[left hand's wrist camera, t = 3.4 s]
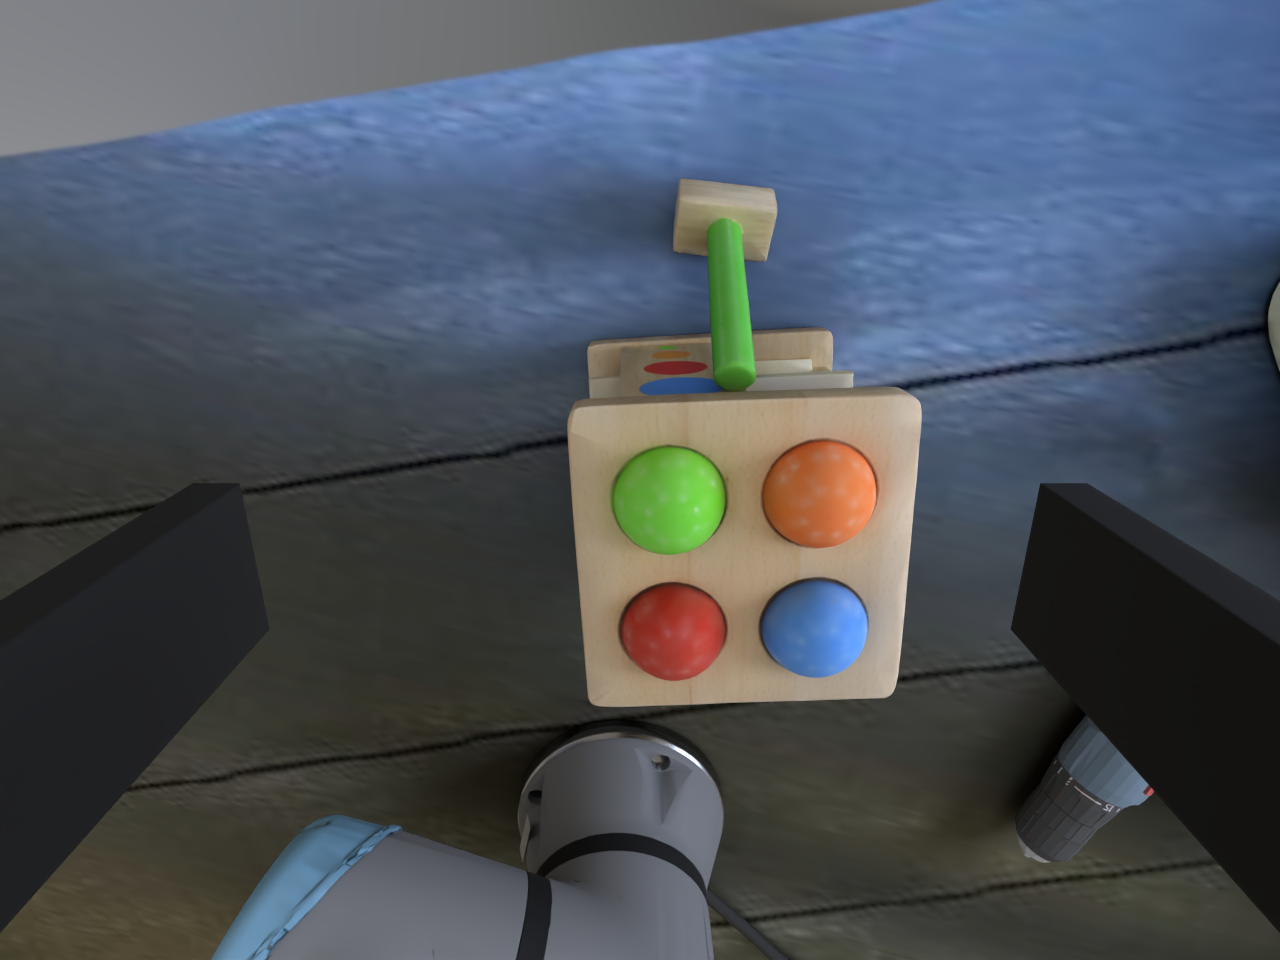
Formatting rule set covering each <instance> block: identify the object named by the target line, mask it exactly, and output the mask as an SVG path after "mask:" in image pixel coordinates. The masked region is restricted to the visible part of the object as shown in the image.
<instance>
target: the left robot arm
mask: <svg viewBox="0 0 1280 960" xmlns="http://www.w3.org/2000/svg"><path fill="white" fill-rule="evenodd" d="M268 630H269V626H268V621H267V616H266V611H265V606H264V601H263V596H262V591H261V586H260V581H259V576H258V571H257V567H256V562H255V557H254V552H253V547H252V542H251V537H250V532H249V527H248V522H247V517H246V512H245V508H244V503H243V498H242V493H241V488H240V483H193V484H191V485H189V486H188V487H186V488H185V489H183V490H181V491H180V492H178V493H176V494H175V495H173V496H171V497H170V498H168V499H166V500H165V501H163V502H162V503H160V504H158V505H157V506H155V507H153V508H152V509H150V510H148V511H147V512H145V513H143V514H142V515H140V516H139V517H137V518H135V519H134V520H132V521H130V522H129V523H127V524H125V525H124V526H122V527H120V528H119V529H117V530H116V531H114V532H112V533H111V534H109V535H107V536H106V537H104V538H102V539H101V540H99V541H97V542H96V543H94V544H93V545H91V546H89V547H88V548H86V549H84V550H83V551H81V552H79V553H78V554H76V555H74V556H73V557H71V558H70V559H68V560H66V561H65V562H63V563H61V564H60V565H58V566H56V567H55V568H53V569H51V570H50V571H48V572H47V573H45V574H43V575H42V576H40V577H38V578H37V579H35V580H33V581H32V582H30V583H29V584H27V585H25V586H24V587H22V588H20V589H19V590H17V591H15V592H14V593H12V594H10V595H9V596H7V597H6V598H4V599H2V600H1V601H0V932H1V931H2V930H3V929H4V928H5V927H6V926H7V925H8V923H9V922H10V921H11V920H12V919H13V918H14V917H15V915H16V914H17V913H18V912H19V911H20V910H21V909H22V908H23V906H24V905H25V904H26V903H27V902H28V901H29V900H30V899H31V897H32V896H33V895H34V894H35V893H36V892H37V891H38V890H39V888H40V887H41V886H42V885H43V884H44V883H45V882H46V881H47V879H48V878H49V877H50V876H51V875H52V874H53V873H54V871H55V870H56V869H57V868H58V867H59V866H60V865H61V864H62V862H63V861H64V860H65V859H66V858H67V857H68V856H69V855H70V853H71V852H72V851H73V850H74V849H75V848H76V847H77V846H78V844H79V843H80V842H81V841H82V840H83V839H84V838H85V837H86V835H87V834H88V833H89V832H90V831H91V830H92V829H93V828H94V826H95V825H96V824H97V823H98V822H99V821H100V820H101V818H102V817H103V816H104V815H105V814H106V813H107V812H108V811H109V809H110V808H111V807H112V806H113V805H114V804H115V803H116V802H117V800H118V799H119V798H120V797H121V796H122V795H123V794H124V793H125V791H126V790H127V789H128V788H129V787H130V786H131V785H132V784H133V782H134V781H135V780H136V779H137V778H138V777H139V776H140V774H141V773H142V772H143V771H144V770H145V769H146V768H147V767H148V765H149V764H150V763H151V762H152V761H153V760H154V759H155V758H156V756H157V755H158V754H159V753H160V752H161V751H162V750H163V749H164V747H165V746H166V745H167V744H168V743H169V742H170V741H171V740H172V738H173V737H174V736H175V735H176V734H177V733H178V732H179V731H180V729H181V728H182V727H183V726H184V725H185V724H186V723H187V721H188V720H189V719H190V718H191V717H192V716H193V715H194V714H195V712H196V711H197V710H198V709H199V708H200V707H201V706H202V705H203V703H204V702H205V701H206V700H207V699H208V698H209V697H210V696H211V694H212V693H213V692H214V691H215V690H216V689H217V688H218V687H219V685H220V684H221V683H222V682H223V681H224V680H225V679H226V677H227V676H228V675H229V674H230V673H231V672H232V671H233V670H234V668H235V667H236V666H237V665H238V664H239V663H240V662H241V661H242V659H243V658H244V657H245V656H246V655H247V654H248V653H249V652H250V650H251V649H252V648H253V647H254V646H255V645H256V644H257V643H258V641H259V640H260V639H261V638H262V637H263V636H264V635H265V634H266V632H267V631H268ZM1011 630H1012V631H1013V632H1014V634H1015V635H1016V636H1017V637H1018V638H1019V639H1020V640H1021V641H1022V643H1023V644H1024V645H1025V646H1026V647H1027V648H1028V649H1029V650H1030V652H1031V653H1032V654H1033V655H1034V656H1035V657H1036V658H1037V659H1038V661H1039V662H1040V663H1041V664H1042V665H1043V666H1044V667H1045V668H1046V670H1047V671H1048V672H1049V673H1050V674H1051V675H1052V676H1053V677H1054V679H1055V680H1056V681H1057V682H1058V683H1059V684H1060V685H1061V687H1062V688H1063V689H1064V690H1065V691H1066V692H1067V693H1068V694H1069V696H1070V697H1071V698H1072V699H1073V700H1074V701H1075V702H1076V703H1077V705H1078V706H1079V707H1080V708H1081V709H1082V710H1083V711H1084V712H1085V714H1086V715H1087V716H1088V717H1089V718H1090V719H1091V720H1092V721H1093V723H1094V724H1095V725H1096V726H1097V727H1098V728H1099V729H1100V731H1101V732H1102V733H1103V734H1104V735H1105V736H1106V737H1107V738H1108V740H1109V741H1110V742H1111V743H1112V744H1113V745H1114V746H1115V747H1116V749H1117V750H1118V751H1119V752H1120V753H1121V754H1122V755H1123V756H1124V758H1125V759H1126V760H1127V761H1128V762H1129V763H1130V764H1131V765H1132V767H1133V768H1134V769H1135V770H1136V771H1137V772H1138V773H1139V774H1140V776H1141V777H1142V778H1143V779H1144V780H1145V781H1146V782H1147V784H1148V785H1149V786H1150V787H1151V788H1152V789H1153V790H1154V791H1155V793H1156V794H1157V795H1158V796H1159V797H1160V798H1161V799H1162V800H1163V802H1164V803H1165V804H1166V805H1167V806H1168V807H1169V808H1170V809H1171V811H1172V812H1173V813H1174V814H1175V815H1176V816H1177V817H1178V818H1179V820H1180V821H1181V822H1182V823H1183V824H1184V825H1185V826H1186V828H1187V829H1188V830H1189V831H1190V832H1191V833H1192V834H1193V835H1194V837H1195V838H1196V839H1197V840H1198V841H1199V842H1200V843H1201V844H1202V846H1203V847H1204V848H1205V849H1206V850H1207V851H1208V852H1209V853H1210V855H1211V856H1212V857H1213V858H1214V859H1215V860H1216V861H1217V862H1218V864H1219V865H1220V866H1221V867H1222V868H1223V869H1224V870H1225V871H1226V873H1227V874H1228V875H1229V876H1230V877H1231V878H1232V879H1233V881H1234V882H1235V883H1236V884H1237V885H1238V886H1239V887H1240V888H1241V890H1242V891H1243V892H1244V893H1245V894H1246V895H1247V896H1248V897H1249V899H1250V900H1251V901H1252V902H1253V903H1254V904H1255V905H1256V906H1257V908H1258V909H1259V910H1260V911H1261V912H1262V913H1263V914H1264V915H1265V917H1266V918H1267V919H1268V920H1269V921H1270V922H1271V923H1272V925H1273V926H1274V927H1275V928H1276V929H1277V930H1278V931H1279V932H1280V601H1279V600H1278V599H1276V598H1274V597H1273V596H1271V595H1270V594H1268V593H1266V592H1265V591H1263V590H1261V589H1260V588H1258V587H1256V586H1255V585H1253V584H1251V583H1250V582H1248V581H1247V580H1245V579H1243V578H1242V577H1240V576H1238V575H1237V574H1235V573H1233V572H1232V571H1230V570H1229V569H1227V568H1225V567H1224V566H1222V565H1220V564H1219V563H1217V562H1215V561H1214V560H1212V559H1210V558H1209V557H1207V556H1206V555H1204V554H1202V553H1201V552H1199V551H1197V550H1196V549H1194V548H1192V547H1191V546H1189V545H1187V544H1186V543H1184V542H1183V541H1181V540H1179V539H1178V538H1176V537H1174V536H1173V535H1171V534H1169V533H1168V532H1166V531H1164V530H1163V529H1161V528H1160V527H1158V526H1156V525H1155V524H1153V523H1151V522H1150V521H1148V520H1146V519H1145V518H1143V517H1141V516H1140V515H1138V514H1137V513H1135V512H1133V511H1132V510H1130V509H1128V508H1127V507H1125V506H1123V505H1122V504H1120V503H1118V502H1117V501H1115V500H1114V499H1112V498H1110V497H1109V496H1107V495H1105V494H1104V493H1102V492H1100V491H1099V490H1097V489H1096V488H1094V487H1092V486H1091V485H1089V484H1087V483H1040V488H1039V493H1038V498H1037V503H1036V507H1035V512H1034V517H1033V522H1032V527H1031V532H1030V537H1029V542H1028V547H1027V552H1026V557H1025V562H1024V566H1023V571H1022V576H1021V581H1020V586H1019V591H1018V596H1017V601H1016V606H1015V611H1014V616H1013V621H1012V626H1011ZM518 826H519V831H520V835H521V839H522V840H521V844H520V853H521V858H522V863H523V859H524V854H525V859H526V864H527V869H528V872H527V871H525V870H523V869H520V868H516V867H513V866H510V865H507V864H504V863H501V862H497V861H494V860H491V859H488V858H485V857H481V856H478V855H475V854H472V853H469V852H466V851H463V850H460V849H457V848H454V847H451V846H448V845H445V844H442V843H439V842H436V841H433V840H430V839H427V838H424V837H421V836H418V835H415V834H412V833H409V832H406V831H403V829H402V827H401V826H398V825H390V826H384V825H379V824H375V823H371V822H367V821H364V820H360V819H356V818H352V817H348V816H344V815H330V816H325V817H322V818H320V819H318V820H316V821H314V822H312V823H311V824H309V825H308V826H307V827H305V828H304V829H303V830H302V831H301V832H300V833H299V834H298V835H297V836H296V837H295V838H294V839H293V840H292V841H291V842H290V843H289V844H288V845H287V847H286V848H285V849H284V850H283V851H282V853H281V854H280V855H279V856H278V858H277V859H276V860H275V862H274V863H273V864H272V866H271V867H270V868H269V870H268V871H267V873H266V874H265V875H264V877H263V878H262V879H261V881H260V882H259V884H258V885H257V887H256V888H255V890H254V891H253V893H252V894H251V896H250V897H249V899H248V900H247V902H246V903H245V905H244V906H243V908H242V909H241V911H240V912H239V914H238V915H237V917H236V919H235V920H234V922H233V923H232V925H231V926H230V928H229V930H228V931H227V933H226V935H225V936H224V938H223V939H222V941H221V943H220V944H219V946H218V948H217V950H216V952H215V953H214V955H213V957H212V959H211V960H714V956H713V947H712V937H711V928H710V919H709V911H708V905H709V906H710V907H711V908H712V909H713V910H715V911H716V912H717V913H718V914H719V915H720V916H722V917H723V918H724V919H725V920H726V921H728V922H729V923H730V924H731V925H732V926H733V927H735V928H736V929H737V930H738V931H739V932H741V933H742V934H743V935H744V936H745V937H746V938H748V939H749V940H750V941H751V942H752V943H753V944H754V945H755V946H756V947H757V948H758V949H759V950H761V951H762V952H763V953H764V954H765V955H766V956H767V957H768V958H769V959H770V960H790V959H788V958H787V957H786V956H785V955H783V954H782V953H781V952H780V951H779V950H777V949H776V948H775V947H774V946H773V945H772V944H771V943H770V942H769V941H768V940H767V939H766V938H765V937H764V936H763V935H762V934H761V933H760V932H759V931H758V930H757V929H755V928H754V927H753V926H752V925H751V924H750V923H749V922H747V921H746V920H745V919H744V918H743V917H741V916H740V915H739V914H738V913H737V912H736V911H734V910H733V909H732V908H731V907H730V906H729V905H728V904H726V903H725V902H724V901H723V900H722V899H721V898H720V897H718V896H717V895H716V894H715V893H714V892H713V891H712V890H710V889H709V888H708V883H709V879H710V876H711V872H712V868H713V865H714V861H715V857H716V853H717V850H718V846H719V842H720V839H721V836H722V832H723V827H724V808H723V801H722V794H721V788H720V783H719V780H718V777H717V775H716V773H715V770H714V768H713V767H712V765H711V764H710V762H709V761H708V759H707V758H706V757H705V755H704V754H703V753H702V752H701V751H700V750H699V749H698V748H697V747H696V746H694V745H693V744H692V743H691V742H689V741H688V740H686V739H685V738H684V737H682V736H680V735H678V734H676V733H675V732H672V731H670V730H668V729H666V728H663V727H660V726H657V725H653V724H649V723H645V722H639V721H629V720H613V721H603V722H597V723H592V724H588V725H585V726H582V727H579V728H576V729H574V730H571V731H569V732H567V733H565V734H563V735H562V736H560V737H558V738H557V739H555V740H554V741H552V742H551V743H550V744H549V745H547V746H546V747H545V748H544V749H543V750H542V751H541V752H540V753H539V754H538V756H537V757H536V758H535V759H534V761H533V762H532V764H531V766H530V767H529V769H528V771H527V774H526V776H525V779H524V782H523V787H522V792H521V797H520V802H519V807H518Z"/></svg>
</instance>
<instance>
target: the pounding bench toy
mask: <svg viewBox="0 0 1280 960" xmlns="http://www.w3.org/2000/svg"><path fill="white" fill-rule="evenodd" d="M777 211H778V210H777V202H776V198H775V193H774V190H773V189H772V188H764V187H755V186H746V185H737V184H728V183H720V182H711V181H702V180H693V179H680V180H679V186H678V193H677V201H676V210H675V219H674V228H673V251H675V252H677V253H686V254H693V255H702V256H708V275H709V299H710V324H711V333H702V334H686V335H671V336H655V337H638V338H622V339H608V340H595V341H592V342H590V344H589V346H588V350H587V359H588V373H589V398H590V399H581V400H578V401H576V402H575V403H574V404H573V406H572V409H571V411H570V414H569V417H568V422H567V432H568V449H569V464H570V478H571V491H572V505H573V518H574V531H575V544H576V557H577V569H578V580H579V593H580V605H581V618H582V630H583V642H584V654H585V665H586V677H587V688H588V699H589V700H590V702H591V703H592V704H594V705H596V706H605V707H630V706H658V705H689V704H711V703H731V702H769V701H808V700H834V699H860V698H886V697H888V696H890V695H891V694H892V693H893V691H894V689H895V686H896V682H897V678H898V670H899V661H900V652H901V642H902V632H903V622H904V612H905V600H906V588H907V576H908V565H909V555H910V544H911V534H912V522H913V509H914V498H915V489H916V480H917V468H918V455H919V442H920V431H921V416H922V410H921V405H920V402H919V401H918V400H917V399H916V398H915V397H913V396H912V395H910V394H909V393H907V392H905V391H903V390H902V389H900V388H897V387H886V386H879V387H853V376H854V374H853V372H852V371H850V370H838V371H832V359H833V337H832V333H831V332H830V331H829V330H827V329H825V328H822V327H808V328H789V329H771V330H753V331H751V321H750V312H749V302H748V293H747V284H746V275H745V265H744V260H746V261H755V262H764V261H766V260H767V255H768V251H769V246H770V242H771V238H772V234H773V230H774V226H775V221H776V216H777Z"/></svg>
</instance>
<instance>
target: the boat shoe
mask: <svg viewBox="0 0 1280 960" xmlns="http://www.w3.org/2000/svg"><path fill="white" fill-rule="evenodd" d="M1268 328H1269V338H1270V342H1271V345H1272V349H1273V352H1274V355H1275V359H1276V362H1277V364H1278V367H1279V370H1280V283H1279V284H1278V286H1277V288H1276V290H1275V292H1274V294H1273V296H1272V300H1271V304H1270V307H1269V314H1268Z"/></svg>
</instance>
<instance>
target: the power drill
mask: <svg viewBox="0 0 1280 960" xmlns="http://www.w3.org/2000/svg"><path fill="white" fill-rule="evenodd" d="M1153 792H1154V790H1153V789H1152V788H1151V787H1150V786H1149V785H1148V784H1147V782H1146V781H1145V780H1144V779H1143V778H1142V777H1141V776H1140V774H1139V773H1138V772H1137V771H1136V770H1135V769H1134V768H1133V767H1132V765H1131V764H1130V763H1129V762H1128V761H1127V760H1126V759H1125V758H1124V756H1123V755H1122V754H1121V753H1120V752H1119V751H1118V750H1117V749H1116V747H1115V746H1114V745H1113V744H1112V743H1111V742H1110V741H1109V740H1108V738H1107V737H1106V736H1105V735H1104V734H1103V733H1102V732H1101V731H1100V729H1099V728H1098V727H1097V726H1096V725H1095V724H1094V723H1093V721H1092V720H1091V719H1090V718H1089V717H1088V716H1087V715H1086V716H1085V717H1084V718H1083V719H1082V721H1081V722H1080V723H1079V724H1078V726H1077V727H1076V728H1075V729H1074V731H1073V732H1072V733H1071V734H1070V736H1069V737H1068V738H1067V739H1066V741H1065V742H1064V743H1063V745H1062V747H1061V749H1060V751H1059V752H1058V754H1057V755H1056V757H1055V758H1054V759H1053V760H1052V763H1051V764H1050V766H1049V768H1048V769H1047V771H1046V773H1045V775H1044V777H1043V779H1042V780H1041V783H1040V784H1039V785H1038V787H1037V788H1036V789H1035V790H1034V791H1033V793H1032V794H1031V795H1029V796H1028V799H1027V800H1026V802H1025V803H1024V805H1023V806H1022V807H1021V809H1020V810H1019V812H1018V813H1017V814H1016V816H1015V821H1016V829H1017V839H1018V842H1019V845H1020V846H1021V847H1022V852H1023V854H1024V855H1025V856H1027V857H1028V858H1029V857H1030V856H1031V857H1032V858H1033V860H1034V859H1035V860H1037V861H1039V862H1067V861H1069V860H1070V859H1071V858H1072V857H1073V856H1074V855H1075V854H1076V853H1077V852H1078V851H1079V850H1080V849H1081V848H1082V847H1083V846H1084V845H1085V844H1087V841H1088V840H1089V839H1090V838H1091V837H1092V836H1093V834H1094V833H1095V832H1096V831H1097V830H1098V829H1099V828H1101V827H1102V826H1103V825H1104V824H1106V823H1107V822H1108V821H1109V820H1111V819H1112V818H1113V817H1114V816H1116V815H1117V814H1118V813H1119V812H1120V811H1121V810H1122V809H1123V808H1126V807H1128V806H1131V805H1139V804H1141V803H1142V802H1143V801H1145V800H1146V799H1147V798H1148V797H1149V796H1151V795H1152V794H1153Z"/></svg>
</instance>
